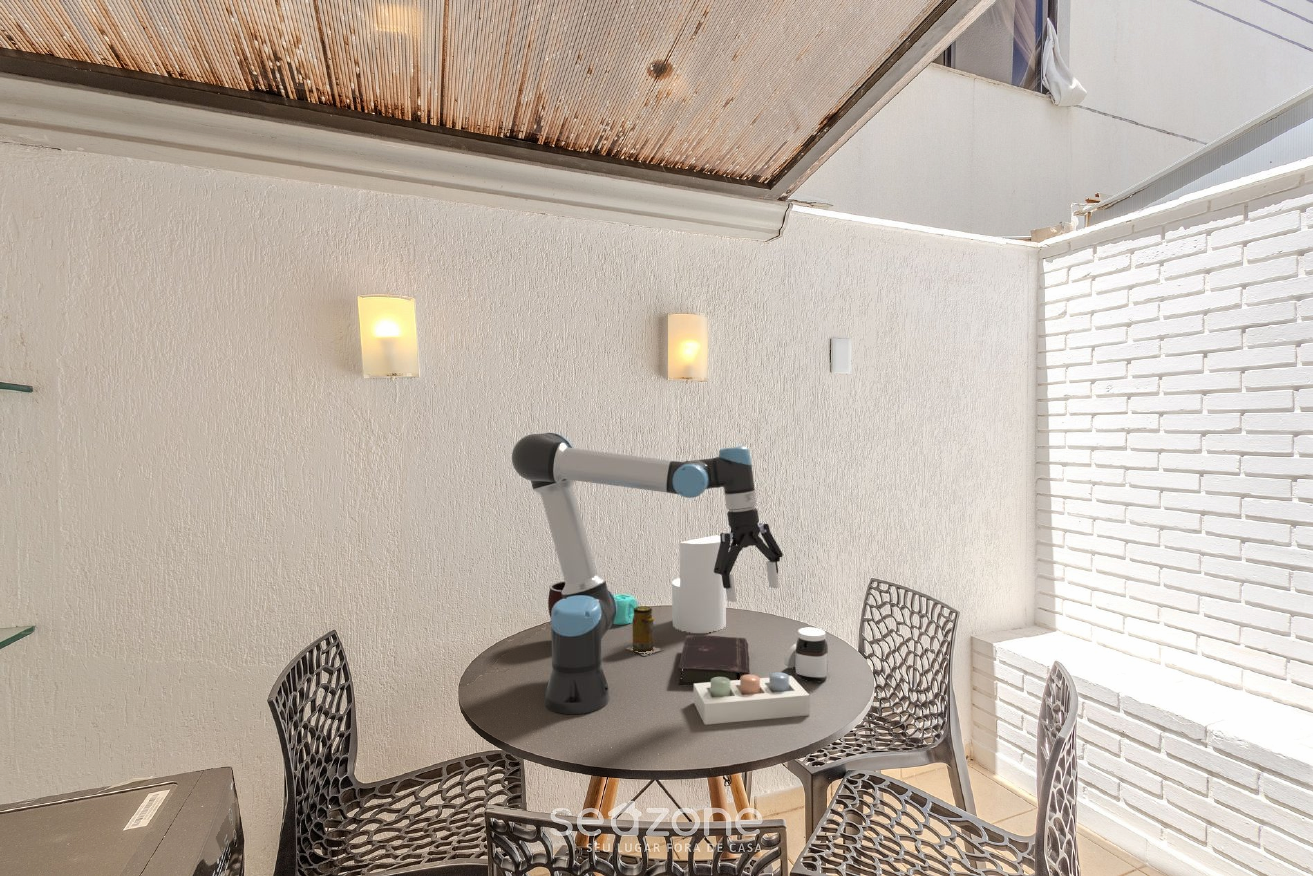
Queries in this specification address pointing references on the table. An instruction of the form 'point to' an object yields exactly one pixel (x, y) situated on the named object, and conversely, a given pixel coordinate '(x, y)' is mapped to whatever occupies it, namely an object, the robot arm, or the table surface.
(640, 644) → the condiment
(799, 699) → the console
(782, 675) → the slate button
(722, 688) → the sage button
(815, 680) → the spread jar
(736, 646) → the diary
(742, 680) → the terracotta button
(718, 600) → the cylinder
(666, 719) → the table surface
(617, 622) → the decorative dice
